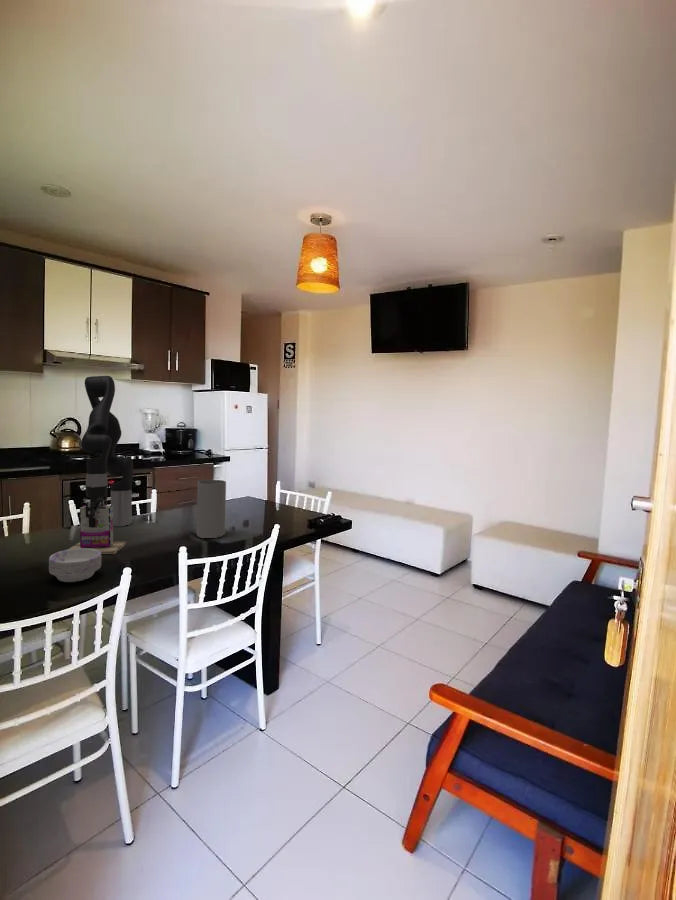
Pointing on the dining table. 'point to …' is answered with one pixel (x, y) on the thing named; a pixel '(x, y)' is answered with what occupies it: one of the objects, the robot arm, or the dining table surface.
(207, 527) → the cylinder vase
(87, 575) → the paper bowls
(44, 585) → the dining table surface
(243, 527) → the dining table surface
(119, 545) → the birch board
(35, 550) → the dining table surface
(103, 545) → the candy bar box
